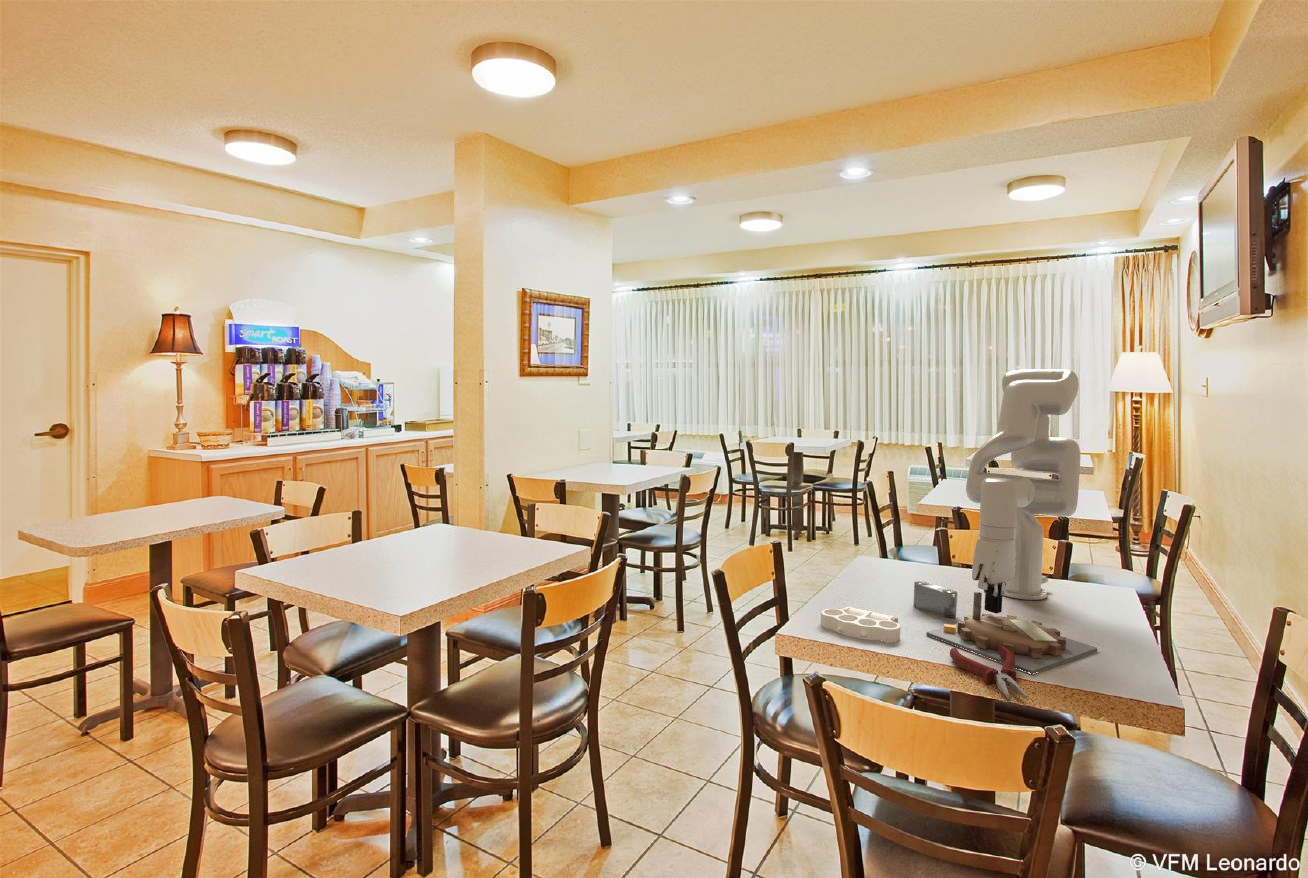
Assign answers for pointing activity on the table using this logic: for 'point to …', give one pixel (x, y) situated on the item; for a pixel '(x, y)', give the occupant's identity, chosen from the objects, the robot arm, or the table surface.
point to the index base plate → (1021, 661)
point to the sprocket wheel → (1010, 633)
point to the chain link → (935, 599)
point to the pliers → (992, 670)
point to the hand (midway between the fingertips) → (992, 611)
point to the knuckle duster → (861, 624)
